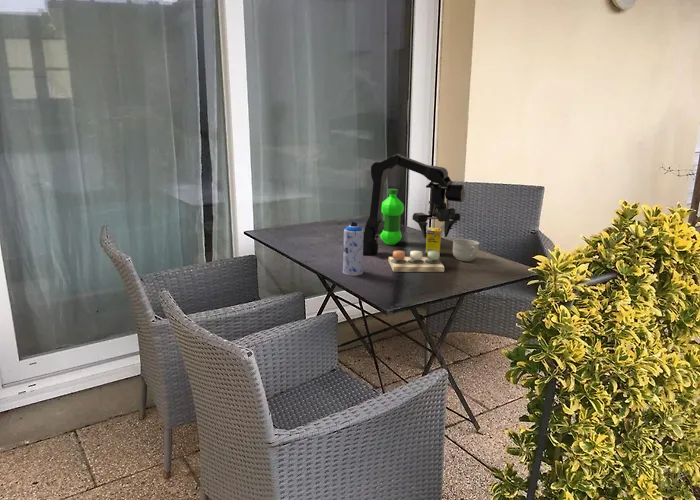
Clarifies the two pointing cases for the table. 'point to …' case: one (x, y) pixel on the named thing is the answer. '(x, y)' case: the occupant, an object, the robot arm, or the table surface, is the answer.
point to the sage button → (433, 255)
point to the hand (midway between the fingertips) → (435, 237)
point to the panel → (416, 265)
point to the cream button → (416, 255)
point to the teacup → (465, 249)
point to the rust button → (398, 254)
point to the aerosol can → (353, 250)
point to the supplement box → (433, 239)
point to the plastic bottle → (392, 218)
